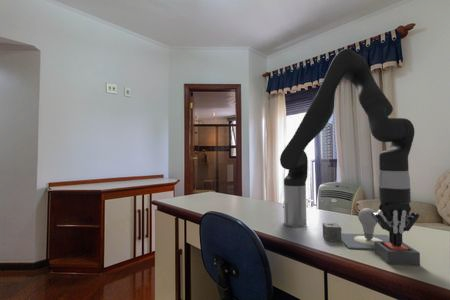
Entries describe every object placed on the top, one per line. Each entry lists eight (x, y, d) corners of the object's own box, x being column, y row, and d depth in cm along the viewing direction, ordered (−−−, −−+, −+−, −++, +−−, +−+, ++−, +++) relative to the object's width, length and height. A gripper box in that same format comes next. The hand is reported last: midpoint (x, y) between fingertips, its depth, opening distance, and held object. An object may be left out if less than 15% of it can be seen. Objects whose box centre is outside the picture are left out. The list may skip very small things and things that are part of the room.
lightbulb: (379, 244, 79) (378, 211, 79) (358, 241, 82) (357, 209, 83) (378, 238, 84) (378, 207, 85) (359, 235, 88) (358, 205, 88)
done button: (391, 256, 68) (391, 247, 68) (383, 250, 72) (383, 242, 73) (408, 257, 67) (408, 248, 68) (399, 250, 72) (399, 242, 72)
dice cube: (336, 236, 89) (336, 223, 89) (341, 241, 84) (341, 227, 84) (322, 236, 90) (322, 222, 90) (326, 241, 85) (326, 226, 85)
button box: (388, 264, 67) (387, 251, 67) (374, 252, 75) (374, 241, 75) (420, 265, 65) (419, 252, 65) (402, 253, 73) (402, 242, 73)
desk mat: (348, 248, 78) (348, 246, 78) (335, 234, 91) (335, 232, 91) (409, 251, 75) (409, 249, 75) (386, 236, 89) (386, 234, 89)
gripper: (406, 184, 74) (408, 240, 74) (364, 184, 74) (365, 241, 74) (427, 187, 67) (429, 250, 66) (380, 188, 67) (382, 250, 66)
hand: (395, 245), depth 70 cm, fingers closed
